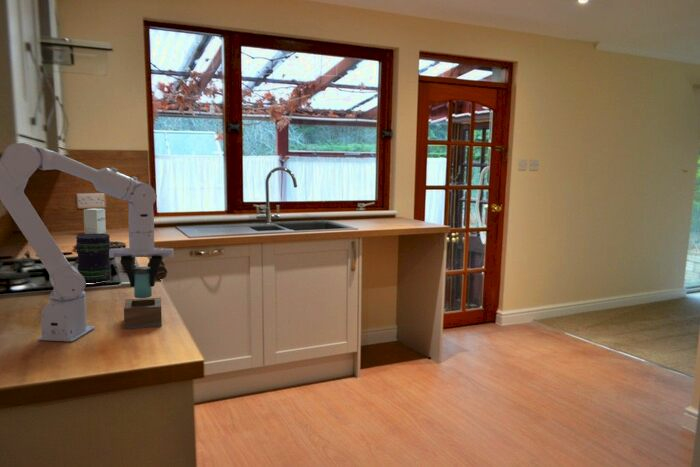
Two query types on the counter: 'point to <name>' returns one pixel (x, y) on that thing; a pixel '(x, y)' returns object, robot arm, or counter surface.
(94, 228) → the supplement box
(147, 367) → the counter surface
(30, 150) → the robot arm
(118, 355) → the counter surface
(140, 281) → the peg
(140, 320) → the socket
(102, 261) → the storage jar
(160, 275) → the dark dumbbell
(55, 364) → the counter surface
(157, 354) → the counter surface
